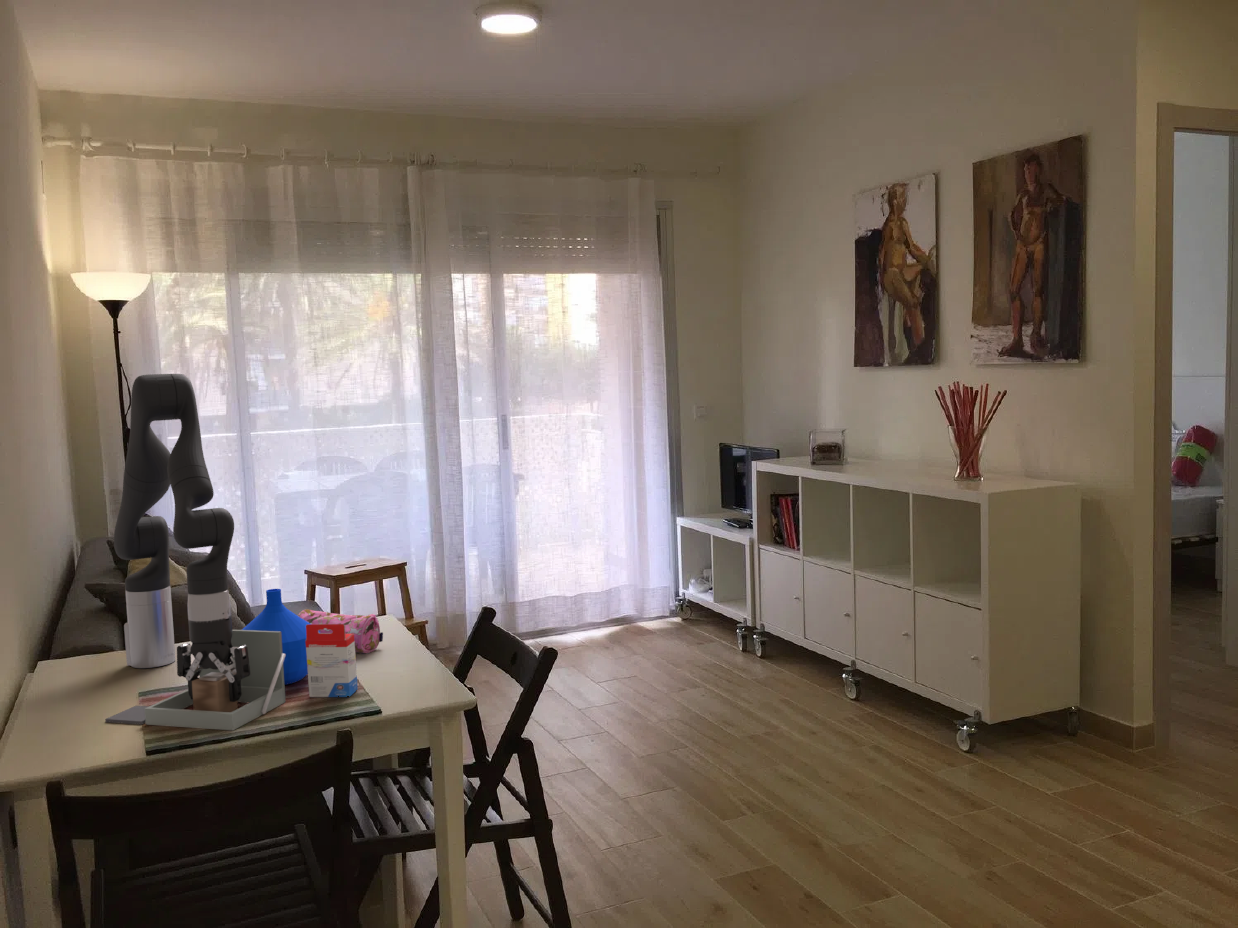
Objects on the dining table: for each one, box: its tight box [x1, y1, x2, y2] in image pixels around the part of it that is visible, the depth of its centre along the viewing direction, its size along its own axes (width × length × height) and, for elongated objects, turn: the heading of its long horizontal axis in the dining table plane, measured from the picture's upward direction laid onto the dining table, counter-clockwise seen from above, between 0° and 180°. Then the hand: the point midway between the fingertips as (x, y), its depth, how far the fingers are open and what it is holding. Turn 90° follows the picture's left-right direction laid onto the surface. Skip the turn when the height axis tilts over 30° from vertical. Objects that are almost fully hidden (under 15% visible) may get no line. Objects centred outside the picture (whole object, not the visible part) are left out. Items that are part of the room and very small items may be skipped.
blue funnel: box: [241, 588, 320, 685], centre depth 214 cm, size 18×18×19 cm
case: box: [145, 629, 286, 731], centre depth 193 cm, size 19×16×14 cm
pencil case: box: [296, 608, 384, 654], centre depth 239 cm, size 21×9×9 cm, turn 68°
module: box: [192, 672, 239, 712], centre depth 193 cm, size 6×6×8 cm
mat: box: [104, 705, 150, 725], centre depth 194 cm, size 8×8×1 cm
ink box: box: [305, 624, 359, 698], centre depth 203 cm, size 8×5×15 cm, turn 84°
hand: (215, 699), depth 193 cm, fingers open, 8 cm apart
